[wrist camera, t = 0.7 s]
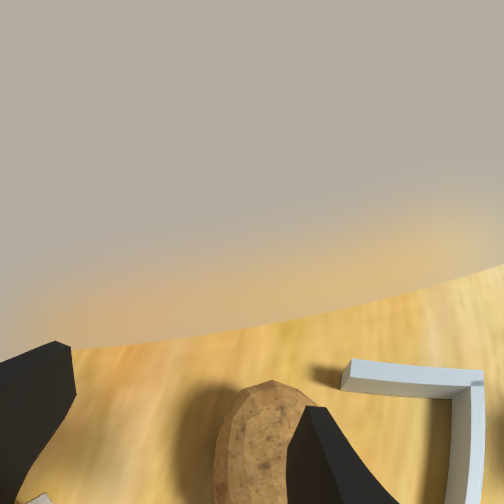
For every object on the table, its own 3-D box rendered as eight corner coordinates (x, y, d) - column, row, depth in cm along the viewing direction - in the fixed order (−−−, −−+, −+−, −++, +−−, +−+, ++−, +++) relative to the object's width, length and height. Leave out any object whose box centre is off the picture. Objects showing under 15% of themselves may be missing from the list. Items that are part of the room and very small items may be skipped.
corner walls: (451, 541, 14) (472, 543, 11) (307, 547, 16) (315, 556, 13) (464, 384, 24) (482, 370, 22) (342, 373, 26) (351, 358, 24)
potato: (315, 387, 26) (334, 349, 20) (358, 532, 17) (397, 545, 11) (203, 410, 25) (183, 379, 19) (235, 562, 15) (226, 590, 9)
